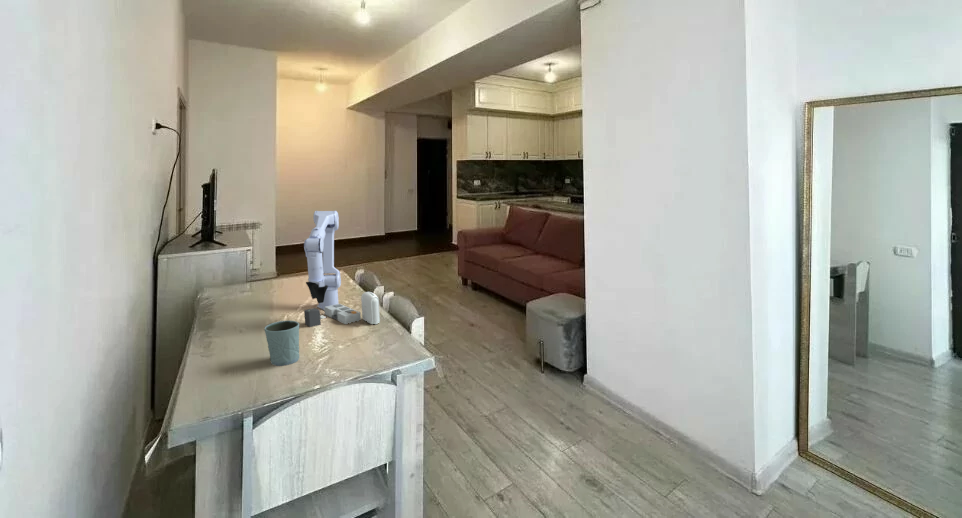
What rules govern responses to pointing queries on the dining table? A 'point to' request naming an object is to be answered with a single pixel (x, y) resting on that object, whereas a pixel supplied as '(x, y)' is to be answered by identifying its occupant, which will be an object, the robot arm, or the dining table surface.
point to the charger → (313, 317)
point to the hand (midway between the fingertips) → (317, 300)
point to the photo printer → (370, 308)
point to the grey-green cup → (283, 342)
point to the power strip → (342, 313)
